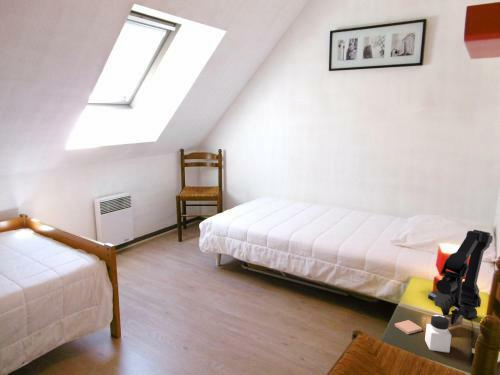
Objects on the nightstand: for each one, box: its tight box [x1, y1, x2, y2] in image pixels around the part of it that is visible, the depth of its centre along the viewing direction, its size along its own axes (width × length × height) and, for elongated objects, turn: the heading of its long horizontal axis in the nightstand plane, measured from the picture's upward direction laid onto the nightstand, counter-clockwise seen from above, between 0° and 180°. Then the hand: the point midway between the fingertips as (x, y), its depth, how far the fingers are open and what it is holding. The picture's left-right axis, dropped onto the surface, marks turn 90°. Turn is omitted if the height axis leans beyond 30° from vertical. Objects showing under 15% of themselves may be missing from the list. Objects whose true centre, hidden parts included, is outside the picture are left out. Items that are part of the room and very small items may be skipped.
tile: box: [394, 319, 423, 335], centre depth 155 cm, size 2×7×8 cm
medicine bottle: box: [424, 314, 453, 353], centre depth 141 cm, size 7×7×12 cm
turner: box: [444, 313, 464, 331], centre depth 153 cm, size 16×5×4 cm, turn 114°
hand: (449, 322), depth 154 cm, fingers closed on turner, 3 cm apart
